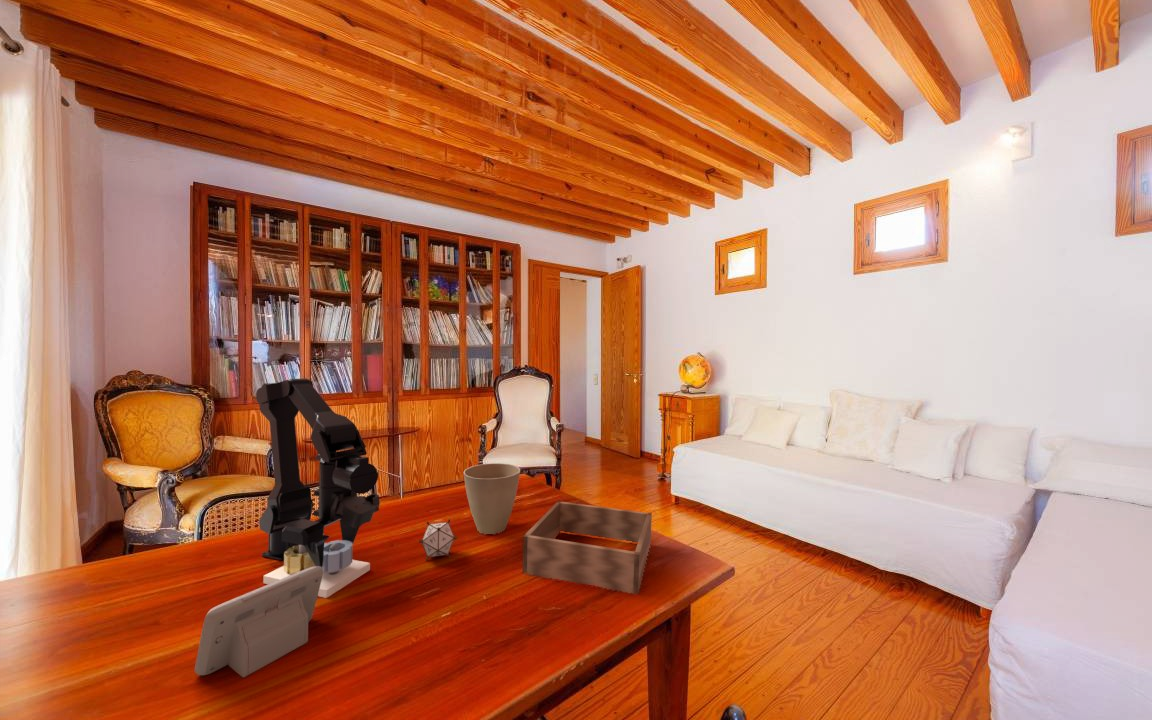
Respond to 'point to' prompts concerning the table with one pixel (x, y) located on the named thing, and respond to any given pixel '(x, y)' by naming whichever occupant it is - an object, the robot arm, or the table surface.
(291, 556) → the brass gear
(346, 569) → the gear board
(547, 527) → the open rectangular box frame
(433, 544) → the game die
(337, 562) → the slate gear
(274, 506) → the robot arm
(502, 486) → the plant pot
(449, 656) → the table surface
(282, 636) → the digital clock
